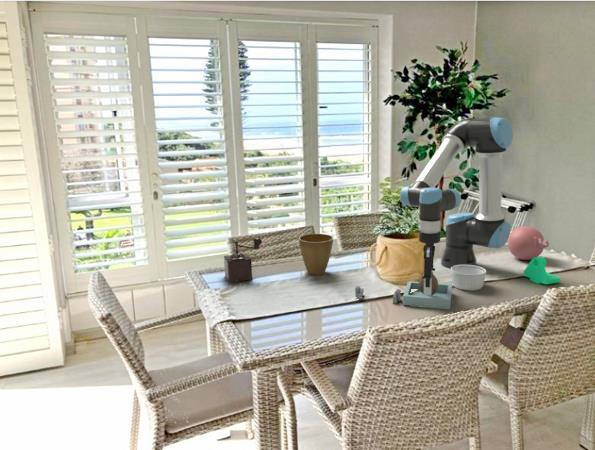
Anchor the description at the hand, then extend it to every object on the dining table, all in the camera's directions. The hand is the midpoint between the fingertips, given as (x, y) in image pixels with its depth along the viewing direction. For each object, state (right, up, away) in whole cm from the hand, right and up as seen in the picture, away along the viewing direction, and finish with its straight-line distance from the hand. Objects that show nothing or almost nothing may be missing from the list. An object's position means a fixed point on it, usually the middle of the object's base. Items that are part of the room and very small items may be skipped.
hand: (428, 291), depth 189 cm
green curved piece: (+50, +2, +16) cm, 52 cm away
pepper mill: (-71, +2, +32) cm, 78 cm away
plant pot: (-40, +3, +35) cm, 53 cm away
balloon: (+56, +8, +42) cm, 70 cm away
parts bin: (0, -3, +1) cm, 3 cm away
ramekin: (+19, 0, +13) cm, 23 cm away
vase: (0, -1, 0) cm, 1 cm away
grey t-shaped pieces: (-18, -3, +3) cm, 19 cm away
